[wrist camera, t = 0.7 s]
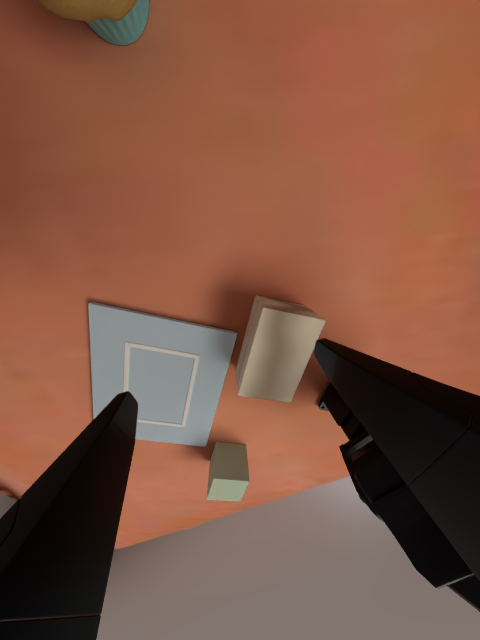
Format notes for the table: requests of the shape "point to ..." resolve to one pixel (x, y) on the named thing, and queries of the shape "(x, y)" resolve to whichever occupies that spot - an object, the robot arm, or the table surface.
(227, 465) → the sage cube
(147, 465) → the table surface
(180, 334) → the board
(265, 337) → the birch brick
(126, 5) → the cupcake
